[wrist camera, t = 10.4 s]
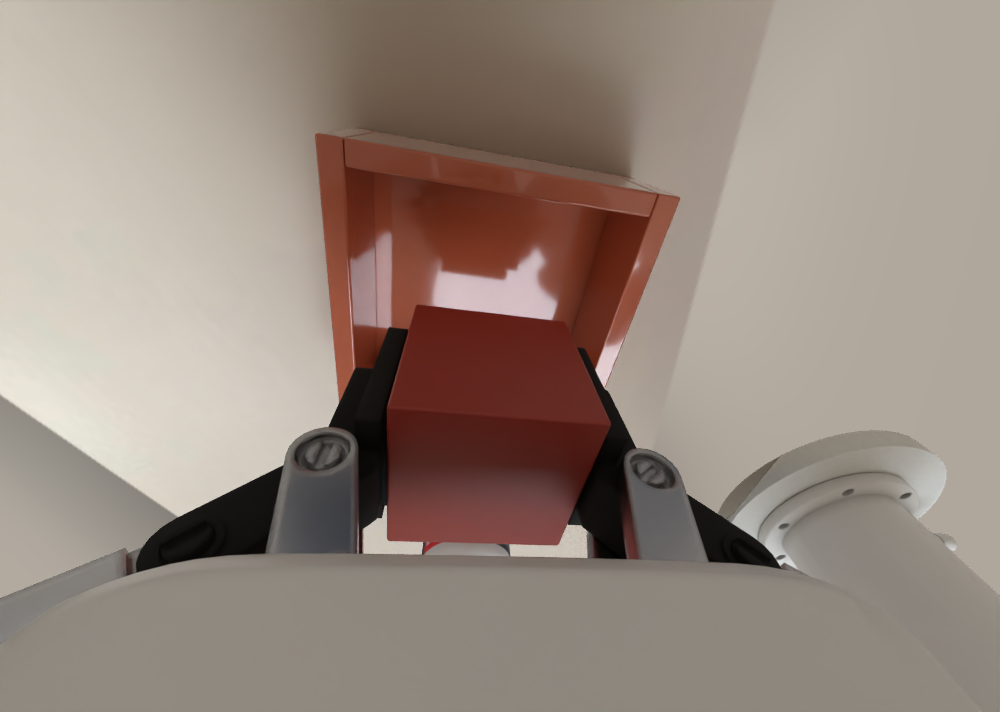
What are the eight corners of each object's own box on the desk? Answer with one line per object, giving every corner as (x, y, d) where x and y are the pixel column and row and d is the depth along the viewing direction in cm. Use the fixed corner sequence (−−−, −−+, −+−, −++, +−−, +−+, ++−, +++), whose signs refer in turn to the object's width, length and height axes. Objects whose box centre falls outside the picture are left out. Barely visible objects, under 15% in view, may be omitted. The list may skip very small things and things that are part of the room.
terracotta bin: (631, 177, 16) (681, 197, 12) (564, 387, 22) (583, 443, 18) (356, 127, 15) (313, 132, 11) (365, 368, 21) (340, 425, 17)
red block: (565, 320, 11) (612, 424, 7) (534, 428, 13) (558, 546, 10) (415, 303, 10) (386, 406, 7) (410, 418, 13) (386, 542, 9)
